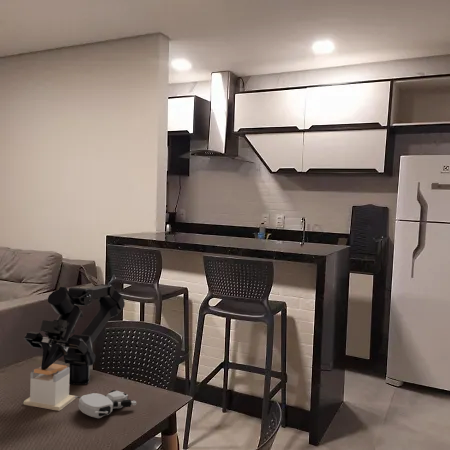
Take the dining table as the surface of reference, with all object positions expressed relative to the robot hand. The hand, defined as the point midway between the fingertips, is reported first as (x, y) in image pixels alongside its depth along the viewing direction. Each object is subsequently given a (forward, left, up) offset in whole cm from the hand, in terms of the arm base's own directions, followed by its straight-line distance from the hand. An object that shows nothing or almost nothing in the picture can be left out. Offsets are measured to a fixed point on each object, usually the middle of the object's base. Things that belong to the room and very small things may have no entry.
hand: (42, 369), depth 128 cm
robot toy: (-18, +3, -12) cm, 22 cm away
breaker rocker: (-1, -3, -2) cm, 4 cm away
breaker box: (-1, -3, -11) cm, 12 cm away
